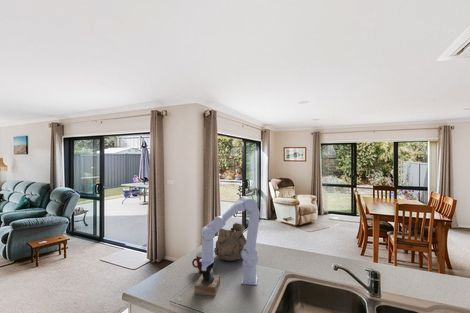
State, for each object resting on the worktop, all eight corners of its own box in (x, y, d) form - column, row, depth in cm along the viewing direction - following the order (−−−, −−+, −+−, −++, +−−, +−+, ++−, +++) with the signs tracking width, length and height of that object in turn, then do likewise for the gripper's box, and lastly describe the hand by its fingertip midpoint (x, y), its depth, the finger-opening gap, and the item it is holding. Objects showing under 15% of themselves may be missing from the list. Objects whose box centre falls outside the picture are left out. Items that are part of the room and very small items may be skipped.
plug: (205, 281, 118) (205, 267, 118) (212, 282, 117) (212, 268, 117) (203, 285, 114) (203, 271, 114) (211, 286, 113) (210, 272, 113)
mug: (191, 275, 128) (190, 257, 128) (193, 269, 136) (192, 251, 137) (210, 275, 129) (210, 257, 129) (211, 268, 137) (210, 251, 137)
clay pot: (237, 269, 136) (237, 232, 136) (205, 260, 148) (205, 226, 148) (255, 254, 157) (255, 222, 158) (226, 247, 169) (226, 218, 169)
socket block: (201, 282, 122) (201, 274, 122) (219, 283, 120) (219, 275, 120) (194, 294, 111) (194, 285, 111) (215, 295, 109) (215, 287, 110)
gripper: (203, 245, 124) (203, 271, 123) (195, 256, 109) (195, 285, 109) (216, 246, 123) (216, 271, 122) (210, 257, 108) (210, 286, 108)
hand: (207, 278), depth 116 cm, fingers open, 4 cm apart
